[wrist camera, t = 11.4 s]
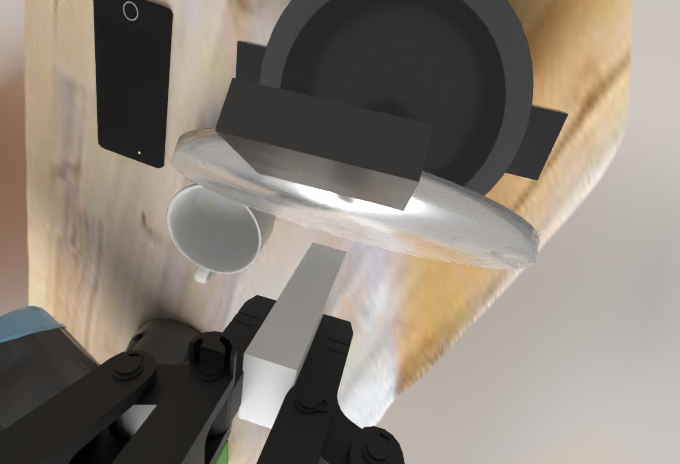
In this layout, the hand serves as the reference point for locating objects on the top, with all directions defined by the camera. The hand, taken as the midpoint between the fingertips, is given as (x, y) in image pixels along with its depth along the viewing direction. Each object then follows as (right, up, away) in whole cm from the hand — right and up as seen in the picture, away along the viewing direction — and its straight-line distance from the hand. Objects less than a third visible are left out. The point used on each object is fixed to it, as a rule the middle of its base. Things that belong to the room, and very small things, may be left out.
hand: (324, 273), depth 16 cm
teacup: (-12, +4, +31) cm, 34 cm away
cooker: (+6, +15, +21) cm, 27 cm away
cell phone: (-23, +19, +27) cm, 40 cm away
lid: (+1, +4, +4) cm, 6 cm away
